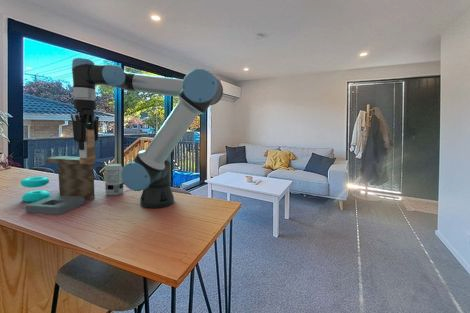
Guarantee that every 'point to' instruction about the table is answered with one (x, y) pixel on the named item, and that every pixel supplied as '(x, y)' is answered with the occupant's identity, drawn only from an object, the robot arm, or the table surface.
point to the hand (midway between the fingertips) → (87, 157)
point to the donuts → (35, 195)
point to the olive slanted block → (74, 177)
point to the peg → (89, 148)
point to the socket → (55, 205)
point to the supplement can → (113, 179)
